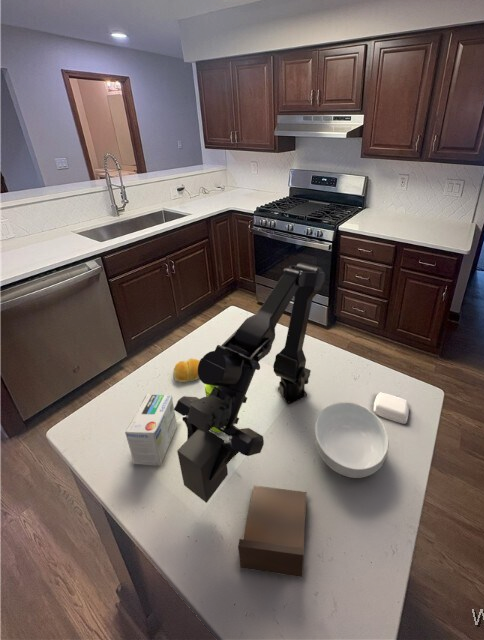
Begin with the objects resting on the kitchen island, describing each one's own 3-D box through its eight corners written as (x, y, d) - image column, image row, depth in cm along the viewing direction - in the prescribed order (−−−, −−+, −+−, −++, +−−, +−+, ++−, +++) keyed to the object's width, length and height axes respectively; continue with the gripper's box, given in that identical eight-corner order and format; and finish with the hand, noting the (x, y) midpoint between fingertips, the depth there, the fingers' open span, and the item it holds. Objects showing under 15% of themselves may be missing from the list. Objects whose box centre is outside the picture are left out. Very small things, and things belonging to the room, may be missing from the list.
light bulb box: (152, 424, 81) (146, 393, 77) (178, 425, 81) (172, 394, 77) (132, 465, 71) (123, 432, 67) (161, 466, 71) (154, 433, 67)
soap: (372, 413, 85) (373, 405, 84) (376, 395, 90) (377, 387, 89) (407, 425, 81) (408, 417, 80) (408, 405, 87) (410, 398, 86)
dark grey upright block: (206, 458, 65) (201, 425, 61) (228, 474, 62) (224, 440, 58) (183, 485, 60) (176, 450, 56) (206, 503, 57) (200, 468, 54)
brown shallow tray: (254, 494, 66) (253, 472, 63) (306, 500, 65) (307, 479, 62) (240, 568, 55) (238, 545, 52) (302, 577, 54) (303, 555, 51)
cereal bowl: (302, 433, 79) (303, 413, 76) (358, 413, 85) (360, 393, 82) (336, 503, 65) (338, 481, 62) (400, 472, 70) (405, 451, 68)
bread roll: (205, 378, 95) (204, 368, 94) (174, 386, 93) (173, 376, 91) (202, 361, 103) (200, 351, 101) (173, 367, 100) (172, 358, 98)
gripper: (175, 365, 60) (134, 450, 56) (252, 407, 52) (211, 512, 47) (208, 371, 70) (175, 444, 65) (278, 407, 61) (245, 495, 57)
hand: (198, 470), depth 58 cm, fingers closed on dark grey upright block, 6 cm apart
